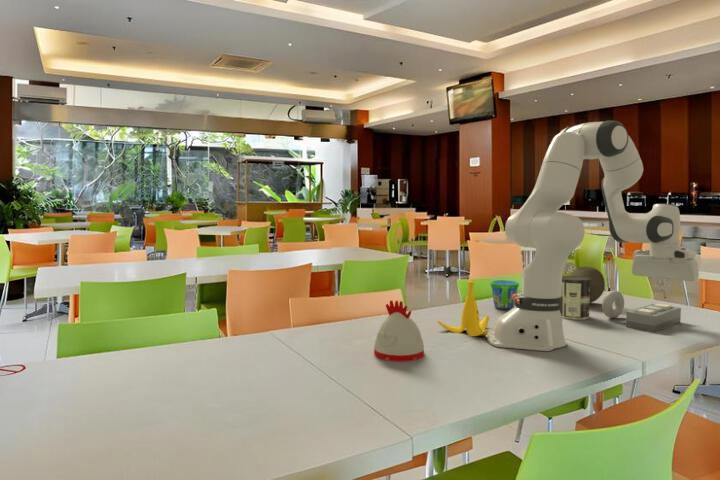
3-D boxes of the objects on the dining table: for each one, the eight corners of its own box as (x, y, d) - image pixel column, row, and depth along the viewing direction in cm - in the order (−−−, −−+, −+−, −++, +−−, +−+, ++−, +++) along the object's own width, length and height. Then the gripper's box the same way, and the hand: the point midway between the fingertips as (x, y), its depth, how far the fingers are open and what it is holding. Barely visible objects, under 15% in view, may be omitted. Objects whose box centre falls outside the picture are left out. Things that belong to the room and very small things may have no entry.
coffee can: (582, 313, 194) (583, 275, 193) (594, 319, 183) (595, 280, 182) (554, 313, 194) (555, 275, 193) (564, 320, 184) (565, 280, 183)
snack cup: (517, 313, 195) (517, 286, 194) (488, 311, 199) (488, 284, 198) (519, 304, 210) (519, 279, 209) (492, 303, 213) (492, 278, 212)
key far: (665, 312, 177) (665, 306, 177) (653, 310, 180) (653, 305, 180) (670, 311, 179) (670, 305, 179) (658, 309, 183) (658, 303, 182)
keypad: (654, 331, 167) (655, 316, 166) (626, 326, 174) (626, 311, 173) (680, 322, 179) (680, 307, 178) (652, 317, 186) (653, 303, 186)
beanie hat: (393, 344, 156) (393, 294, 155) (433, 352, 148) (433, 299, 146) (364, 355, 146) (363, 302, 144) (405, 364, 137) (405, 308, 136)
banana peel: (489, 326, 177) (489, 277, 176) (489, 341, 159) (489, 286, 157) (439, 323, 181) (440, 275, 179) (434, 338, 162) (434, 285, 161)
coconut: (559, 302, 214) (559, 265, 213) (587, 299, 219) (588, 264, 217) (583, 308, 201) (584, 270, 200) (613, 306, 205) (614, 268, 204)
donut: (608, 320, 182) (609, 292, 181) (599, 318, 185) (600, 291, 184) (626, 317, 187) (627, 289, 186) (617, 315, 190) (618, 288, 189)
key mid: (657, 315, 173) (657, 309, 173) (645, 313, 176) (645, 307, 176) (662, 313, 176) (663, 307, 175) (650, 311, 179) (650, 305, 179)
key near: (649, 318, 169) (649, 312, 169) (636, 316, 172) (636, 310, 172) (654, 316, 172) (655, 310, 172) (642, 314, 175) (642, 308, 175)
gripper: (628, 249, 184) (628, 288, 186) (693, 254, 168) (692, 296, 169) (637, 248, 188) (636, 286, 189) (701, 252, 172) (699, 293, 173)
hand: (663, 291), depth 179 cm, fingers closed
